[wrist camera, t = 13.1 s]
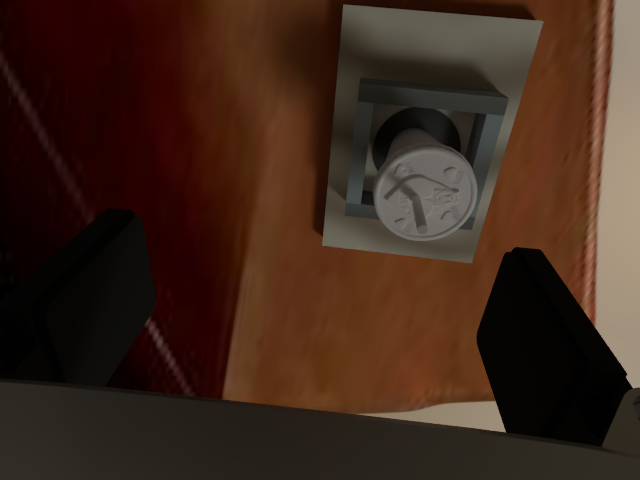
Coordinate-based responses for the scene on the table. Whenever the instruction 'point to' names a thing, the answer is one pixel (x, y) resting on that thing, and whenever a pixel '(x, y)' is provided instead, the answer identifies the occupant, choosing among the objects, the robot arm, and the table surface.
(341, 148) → the holder
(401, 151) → the smoothie
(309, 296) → the table surface
